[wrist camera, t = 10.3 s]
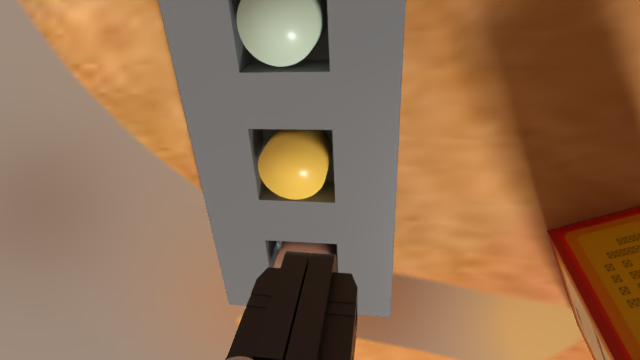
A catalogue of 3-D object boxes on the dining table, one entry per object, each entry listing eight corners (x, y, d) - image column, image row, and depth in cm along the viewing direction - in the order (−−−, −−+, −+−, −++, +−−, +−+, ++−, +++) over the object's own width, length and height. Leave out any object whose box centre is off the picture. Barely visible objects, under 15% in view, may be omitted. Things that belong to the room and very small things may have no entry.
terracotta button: (279, 225, 29) (270, 249, 27) (335, 228, 29) (330, 252, 27) (284, 267, 31) (276, 293, 29) (336, 270, 31) (332, 297, 29)
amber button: (265, 120, 25) (253, 138, 23) (330, 121, 25) (324, 139, 22) (272, 176, 27) (262, 198, 25) (332, 178, 27) (327, 200, 25)
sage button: (247, -25, 21) (230, -20, 19) (323, -29, 21) (315, -24, 18) (257, 54, 23) (243, 67, 21) (327, 53, 23) (320, 66, 20)
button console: (172, -65, 22) (143, -65, 19) (407, -81, 20) (409, -82, 17) (241, 276, 34) (229, 304, 31) (390, 286, 32) (390, 317, 29)
